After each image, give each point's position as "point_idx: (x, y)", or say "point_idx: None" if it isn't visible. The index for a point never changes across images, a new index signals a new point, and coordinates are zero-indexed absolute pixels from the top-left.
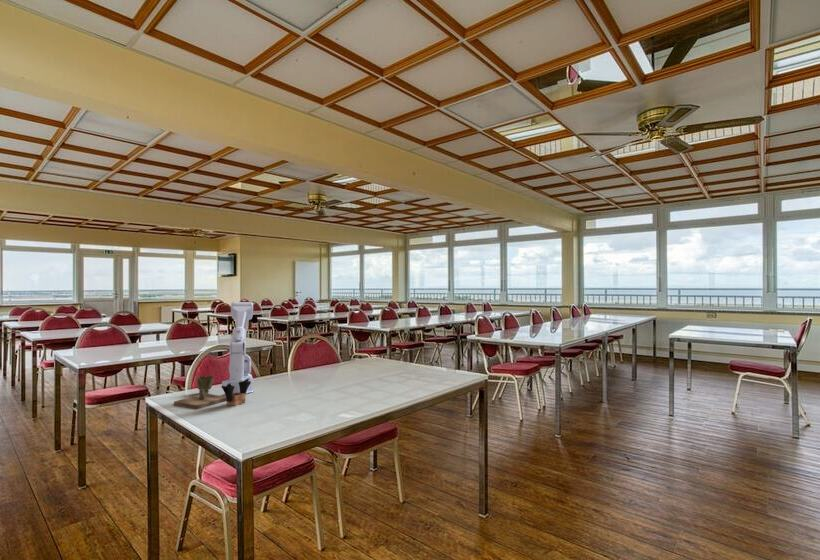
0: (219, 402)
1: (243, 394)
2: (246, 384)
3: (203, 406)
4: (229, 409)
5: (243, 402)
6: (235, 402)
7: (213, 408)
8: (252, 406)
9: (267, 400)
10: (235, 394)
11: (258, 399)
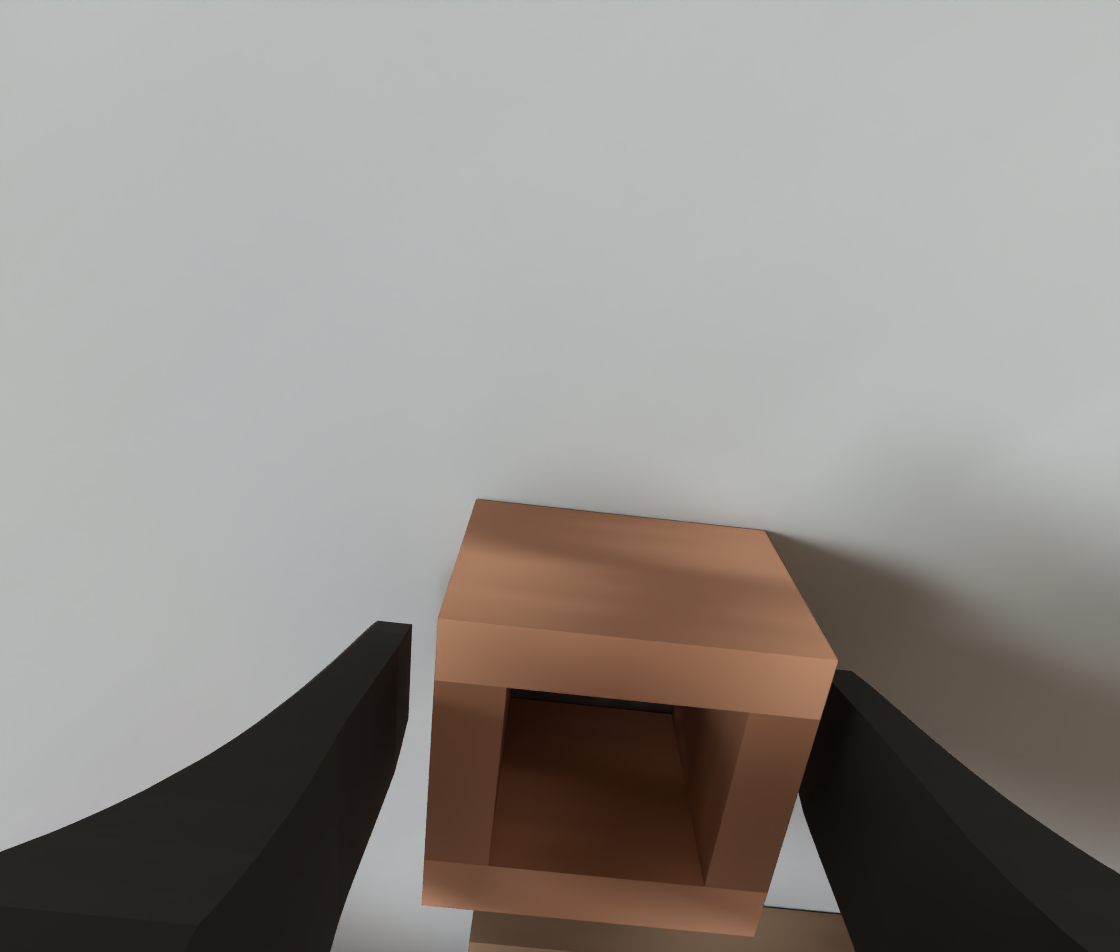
0: None
1: (526, 622)
2: (238, 907)
3: None
4: (1079, 466)
5: (528, 513)
6: (779, 579)
7: (1048, 774)
8: (698, 98)
9: (5, 99)
10: (518, 838)
11: (84, 401)
